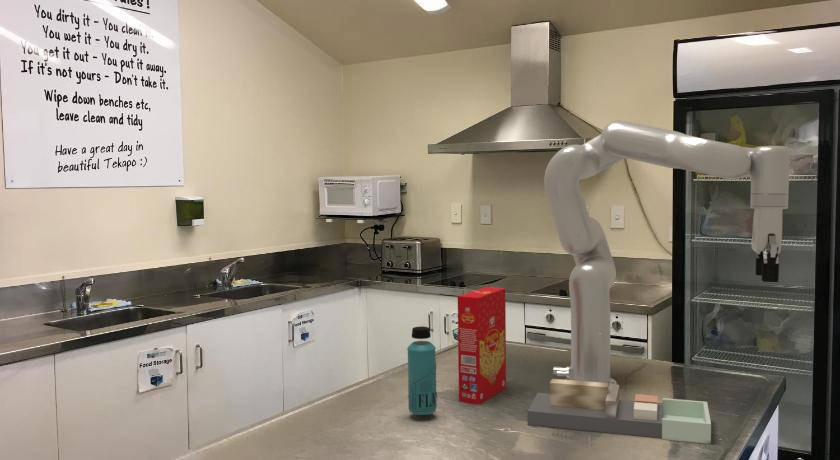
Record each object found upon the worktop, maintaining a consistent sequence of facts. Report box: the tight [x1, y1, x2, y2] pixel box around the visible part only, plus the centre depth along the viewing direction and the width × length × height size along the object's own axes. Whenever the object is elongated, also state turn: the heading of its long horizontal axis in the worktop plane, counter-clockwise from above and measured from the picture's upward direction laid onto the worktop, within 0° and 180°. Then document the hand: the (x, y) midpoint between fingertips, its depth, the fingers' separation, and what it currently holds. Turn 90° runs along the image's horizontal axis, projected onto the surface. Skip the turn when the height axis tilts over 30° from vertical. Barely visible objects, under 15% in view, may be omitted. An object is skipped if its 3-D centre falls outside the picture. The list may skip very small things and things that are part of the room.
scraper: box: [549, 378, 620, 418], centre depth 152 cm, size 14×12×5 cm
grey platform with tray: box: [526, 392, 712, 445], centre depth 150 cm, size 36×14×4 cm, turn 71°
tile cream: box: [634, 402, 657, 421], centre depth 145 cm, size 4×4×2 cm
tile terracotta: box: [634, 393, 659, 404], centre depth 151 cm, size 4×4×2 cm
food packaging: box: [457, 286, 507, 406], centre depth 170 cm, size 15×5×25 cm, turn 148°
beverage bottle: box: [406, 325, 438, 416], centre depth 155 cm, size 6×7×20 cm
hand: (766, 278), depth 158 cm, fingers open, 9 cm apart
